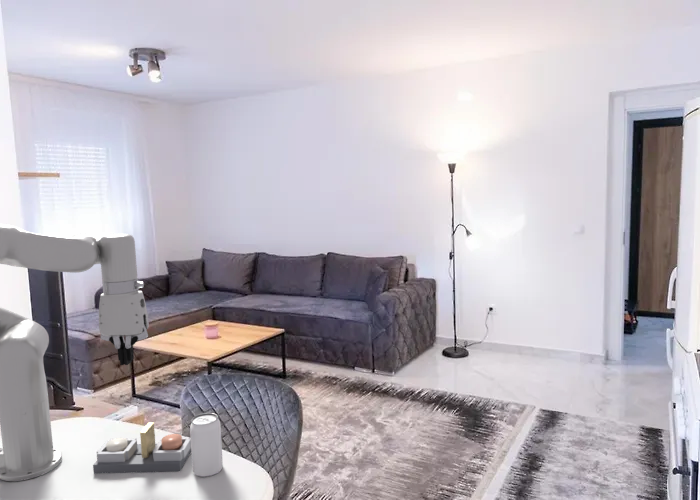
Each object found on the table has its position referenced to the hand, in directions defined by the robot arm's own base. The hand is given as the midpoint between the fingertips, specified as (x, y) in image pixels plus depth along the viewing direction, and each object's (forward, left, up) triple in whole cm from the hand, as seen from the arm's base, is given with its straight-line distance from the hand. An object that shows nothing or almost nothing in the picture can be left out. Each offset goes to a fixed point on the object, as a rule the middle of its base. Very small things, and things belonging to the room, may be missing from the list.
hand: (126, 363), depth 124 cm
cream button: (0, -7, -18) cm, 20 cm away
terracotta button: (+12, -7, -18) cm, 22 cm away
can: (+21, -11, -21) cm, 32 cm away
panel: (+5, -7, -21) cm, 23 cm away
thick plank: (+7, -7, -19) cm, 21 cm away
